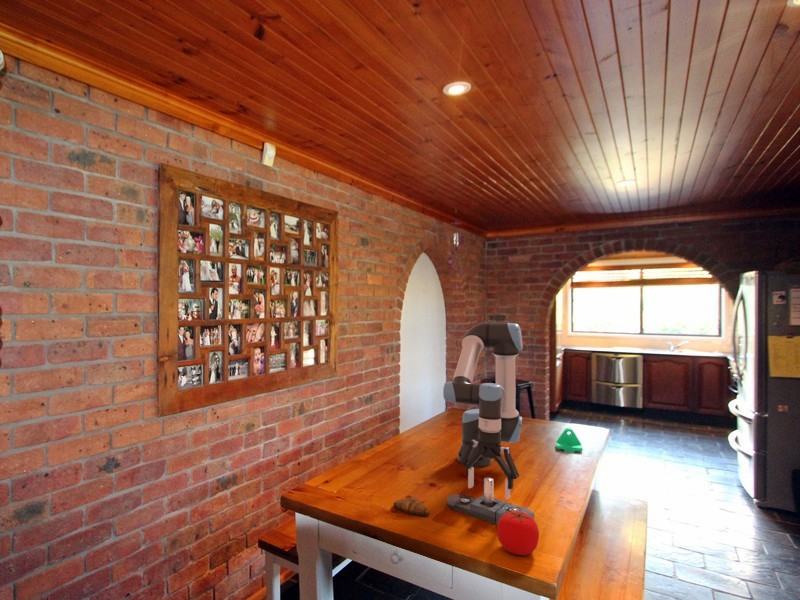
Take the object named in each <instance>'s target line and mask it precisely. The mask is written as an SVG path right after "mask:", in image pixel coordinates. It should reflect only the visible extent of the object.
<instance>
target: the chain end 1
mask: <svg viewBox="0 0 800 600" xmlns="http://www.w3.org/2000/svg"><path fill="white" fill-rule="evenodd" d="M476 499H477V498H476V497H472V496H469V495H466V494H462V493H461V494H459V493H457V494H456V493H454V494H451V495H449V496H447V499H446V506H447V507H448V508H449V509H450V510H453V511H455V512H458V513H461V514H464V515H467V516H470V517H473V518H476V519H479V520H481V519H482V520H481V521H484V520H485V522H487V521H488V522H487V523H490V522H491V524H492V525H496V518H493V517H490V516H487V515H484V514H481V513H478V512H475V511H472V510H470V504H471V503H472V502H474V501H475V500H476Z"/></svg>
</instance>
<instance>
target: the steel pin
mask: <svg viewBox="0 0 800 600" xmlns="http://www.w3.org/2000/svg"><path fill="white" fill-rule="evenodd" d="M494 481H495V480H494V478H492V477H484V478H483V495H484V505H485V506H488V507H493V498H494V491H495V490H494V487H495V486H494V485H495V483H494Z"/></svg>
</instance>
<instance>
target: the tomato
mask: <svg viewBox="0 0 800 600" xmlns="http://www.w3.org/2000/svg"><path fill="white" fill-rule="evenodd" d="M535 520H536V519H535V518H534V519H533V518H532V517H531V516H529V515H528V514H526V513H524V512H520V511H512V512H508V513H506V514H504V515H503V516H502V517H501V518H500V520H499V522H498V525H496V535H497V539H498V541H499V543H500V545H501V546H502V547H503V549H505V551H507V552H509V553H510V554H514V555H518V556H527V555H530V554H532V553H533V552H534V551H535V550H536V548H537V546H538V543H539V540H540V538H539V537H540V531H539V527H538V525H537V523H536V521H535Z"/></svg>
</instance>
